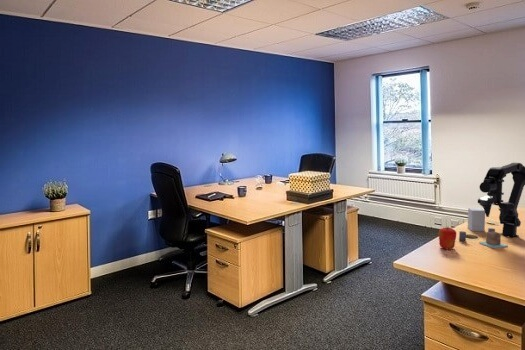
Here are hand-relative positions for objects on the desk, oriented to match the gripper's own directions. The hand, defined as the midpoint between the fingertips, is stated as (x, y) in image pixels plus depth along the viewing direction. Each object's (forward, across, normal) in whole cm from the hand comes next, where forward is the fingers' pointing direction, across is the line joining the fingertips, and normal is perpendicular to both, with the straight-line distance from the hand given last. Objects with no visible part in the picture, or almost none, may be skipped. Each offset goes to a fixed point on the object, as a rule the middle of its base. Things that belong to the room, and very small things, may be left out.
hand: (494, 218), depth 205 cm
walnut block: (+11, +7, -7) cm, 15 cm away
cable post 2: (+12, -4, +2) cm, 13 cm away
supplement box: (+12, -20, +7) cm, 24 cm away
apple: (+12, +4, -33) cm, 35 cm away
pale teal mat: (+12, +7, -7) cm, 16 cm away
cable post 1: (+12, -4, -16) cm, 21 cm away
